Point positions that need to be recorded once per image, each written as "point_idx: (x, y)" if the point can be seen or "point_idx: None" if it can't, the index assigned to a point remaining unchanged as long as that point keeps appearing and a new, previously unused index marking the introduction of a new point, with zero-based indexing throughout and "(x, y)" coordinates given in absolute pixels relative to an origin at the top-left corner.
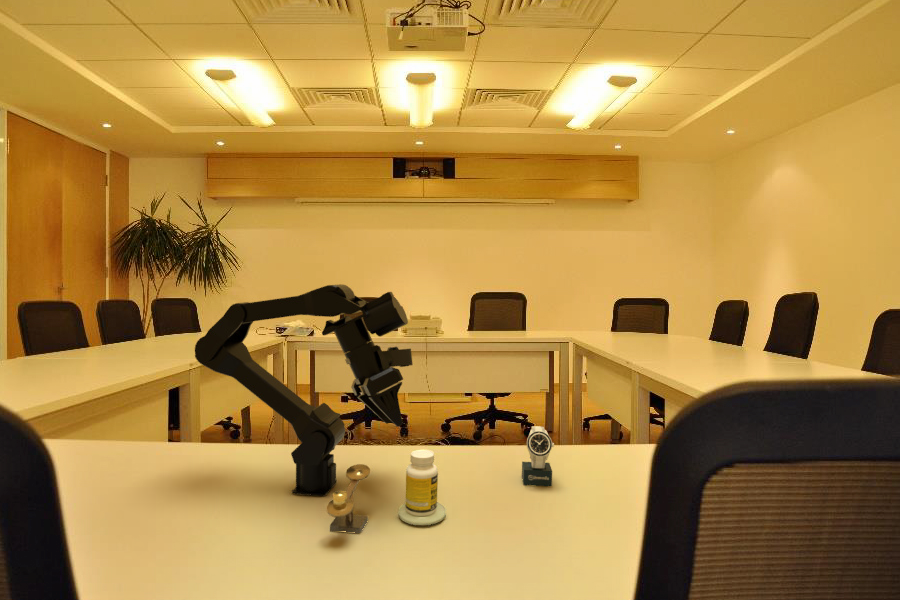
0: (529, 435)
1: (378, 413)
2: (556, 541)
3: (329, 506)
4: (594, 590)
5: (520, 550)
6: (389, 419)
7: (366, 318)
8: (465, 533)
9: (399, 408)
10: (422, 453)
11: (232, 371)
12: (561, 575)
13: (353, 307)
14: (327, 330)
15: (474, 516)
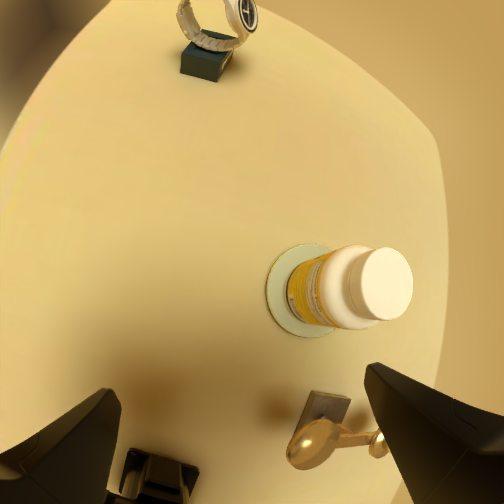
0: (237, 6)
1: (106, 463)
2: (379, 132)
3: (384, 453)
4: (437, 155)
5: (398, 179)
6: (110, 400)
7: None
8: (365, 230)
9: (441, 394)
10: (390, 283)
11: None
12: (427, 166)
13: None
14: None
15: (319, 197)
